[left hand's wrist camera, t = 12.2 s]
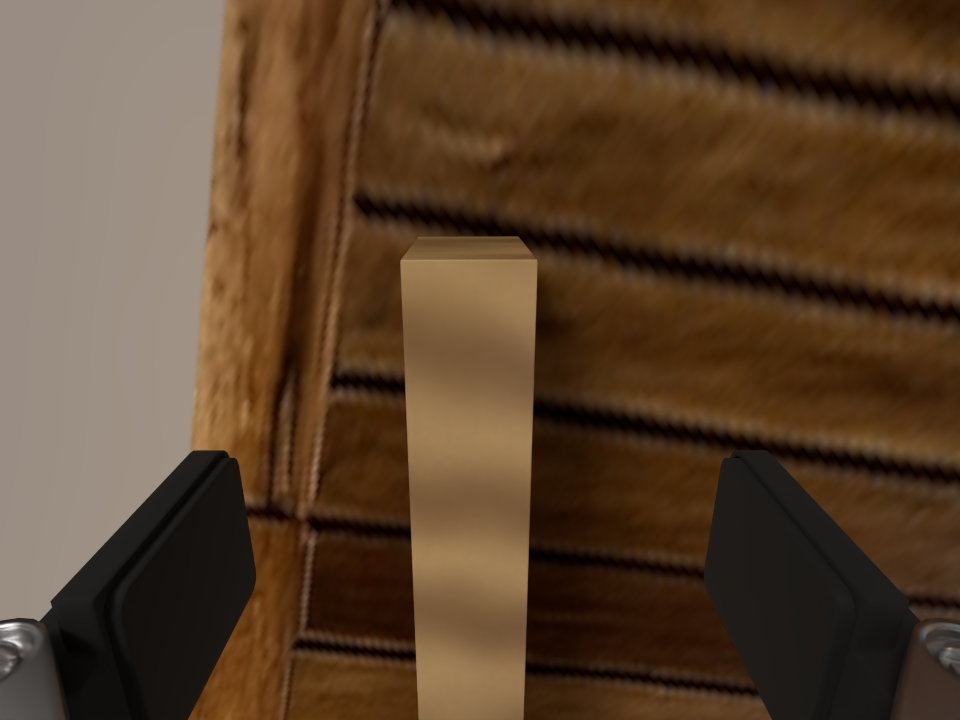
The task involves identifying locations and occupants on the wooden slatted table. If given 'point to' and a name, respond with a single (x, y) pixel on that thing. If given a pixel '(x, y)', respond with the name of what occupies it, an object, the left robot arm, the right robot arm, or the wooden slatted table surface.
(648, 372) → the wooden slatted table surface
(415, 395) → the bar
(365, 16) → the wooden slatted table surface
